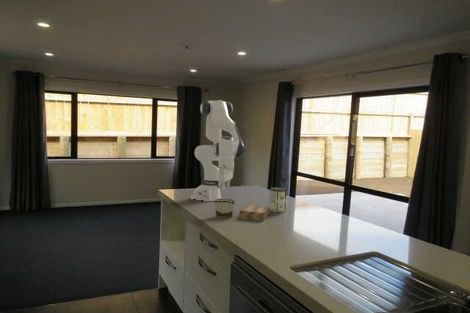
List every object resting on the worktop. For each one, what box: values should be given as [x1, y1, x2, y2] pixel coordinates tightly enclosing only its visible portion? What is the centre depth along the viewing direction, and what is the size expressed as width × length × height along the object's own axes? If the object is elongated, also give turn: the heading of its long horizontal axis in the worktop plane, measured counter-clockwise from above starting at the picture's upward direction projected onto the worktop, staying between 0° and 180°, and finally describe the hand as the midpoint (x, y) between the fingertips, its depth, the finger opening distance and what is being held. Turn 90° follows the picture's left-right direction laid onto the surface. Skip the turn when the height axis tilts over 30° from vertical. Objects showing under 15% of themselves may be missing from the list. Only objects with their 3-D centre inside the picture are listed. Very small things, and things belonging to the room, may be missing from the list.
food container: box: [213, 197, 236, 219], centre depth 201 cm, size 12×6×10 cm, turn 84°
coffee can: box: [269, 186, 287, 213], centre depth 220 cm, size 10×10×14 cm
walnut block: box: [239, 204, 270, 222], centre depth 203 cm, size 14×16×5 cm
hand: (225, 188), depth 200 cm, fingers open, 8 cm apart
